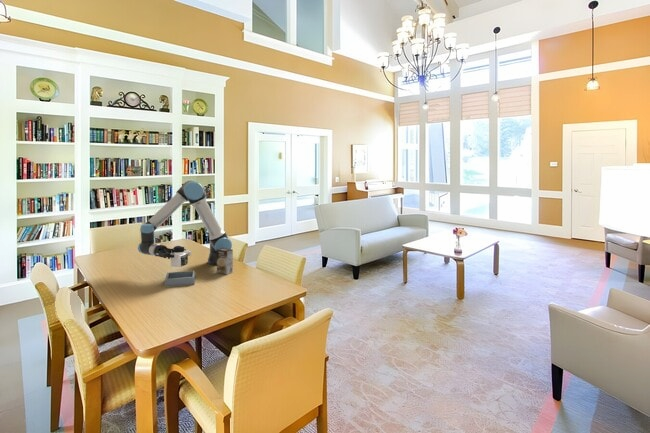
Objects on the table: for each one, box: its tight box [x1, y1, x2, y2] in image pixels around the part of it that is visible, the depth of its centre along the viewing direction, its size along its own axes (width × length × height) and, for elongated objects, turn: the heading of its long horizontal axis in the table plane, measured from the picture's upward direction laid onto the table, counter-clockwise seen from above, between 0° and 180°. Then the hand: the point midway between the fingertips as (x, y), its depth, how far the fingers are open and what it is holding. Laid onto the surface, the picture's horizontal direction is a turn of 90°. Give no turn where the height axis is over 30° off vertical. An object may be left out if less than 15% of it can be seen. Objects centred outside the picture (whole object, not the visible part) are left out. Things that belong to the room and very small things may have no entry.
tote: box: [164, 270, 196, 288], centre depth 220 cm, size 16×14×4 cm
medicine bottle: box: [170, 245, 189, 268], centre depth 218 cm, size 7×7×12 cm
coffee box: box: [216, 248, 234, 275], centre depth 240 cm, size 9×6×16 cm
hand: (184, 255), depth 215 cm, fingers closed on medicine bottle, 8 cm apart
